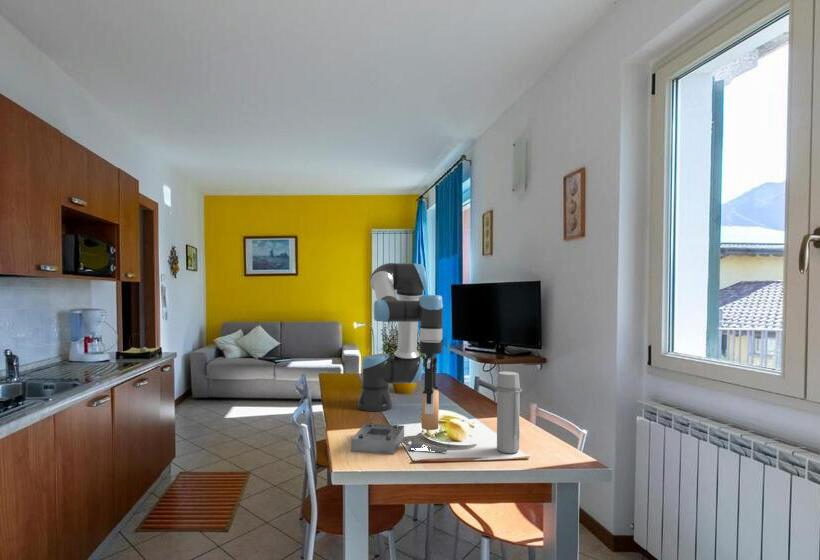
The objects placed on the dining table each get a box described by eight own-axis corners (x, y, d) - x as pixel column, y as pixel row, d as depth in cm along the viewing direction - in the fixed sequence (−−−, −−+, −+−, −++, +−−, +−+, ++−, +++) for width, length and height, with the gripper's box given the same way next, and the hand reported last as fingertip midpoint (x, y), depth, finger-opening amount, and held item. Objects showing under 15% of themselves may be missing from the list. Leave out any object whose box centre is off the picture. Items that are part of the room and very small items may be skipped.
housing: (365, 434, 164) (365, 421, 164) (404, 437, 162) (404, 423, 162) (351, 451, 146) (351, 436, 146) (394, 454, 144) (394, 439, 144)
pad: (414, 439, 159) (414, 438, 159) (449, 441, 157) (449, 440, 157) (408, 451, 147) (408, 449, 147) (446, 453, 145) (446, 452, 145)
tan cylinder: (422, 424, 155) (423, 386, 156) (439, 425, 154) (439, 386, 155) (420, 429, 150) (420, 389, 150) (437, 430, 149) (437, 390, 150)
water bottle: (491, 448, 151) (492, 371, 152) (511, 445, 154) (511, 370, 155) (508, 457, 142) (508, 376, 143) (528, 454, 145) (529, 375, 146)
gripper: (423, 338, 163) (422, 404, 162) (415, 343, 145) (414, 417, 144) (444, 339, 162) (443, 405, 161) (439, 344, 144) (438, 419, 143)
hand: (430, 411), depth 152 cm, fingers closed on tan cylinder, 6 cm apart
